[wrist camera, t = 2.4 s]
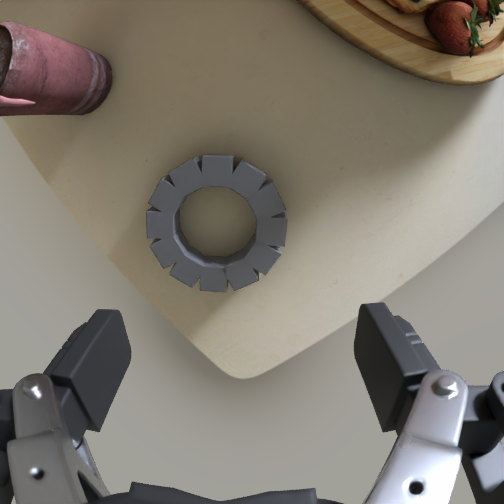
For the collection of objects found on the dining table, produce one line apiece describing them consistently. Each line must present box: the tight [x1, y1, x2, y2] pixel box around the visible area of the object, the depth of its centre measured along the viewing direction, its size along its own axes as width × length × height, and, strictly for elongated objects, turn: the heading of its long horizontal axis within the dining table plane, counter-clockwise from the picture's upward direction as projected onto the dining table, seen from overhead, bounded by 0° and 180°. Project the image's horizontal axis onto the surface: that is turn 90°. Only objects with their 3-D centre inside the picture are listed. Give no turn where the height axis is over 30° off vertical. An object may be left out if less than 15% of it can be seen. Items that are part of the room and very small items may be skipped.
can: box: [0, 21, 112, 116], centre depth 16 cm, size 6×6×14 cm
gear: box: [146, 154, 287, 292], centre depth 27 cm, size 12×12×2 cm
